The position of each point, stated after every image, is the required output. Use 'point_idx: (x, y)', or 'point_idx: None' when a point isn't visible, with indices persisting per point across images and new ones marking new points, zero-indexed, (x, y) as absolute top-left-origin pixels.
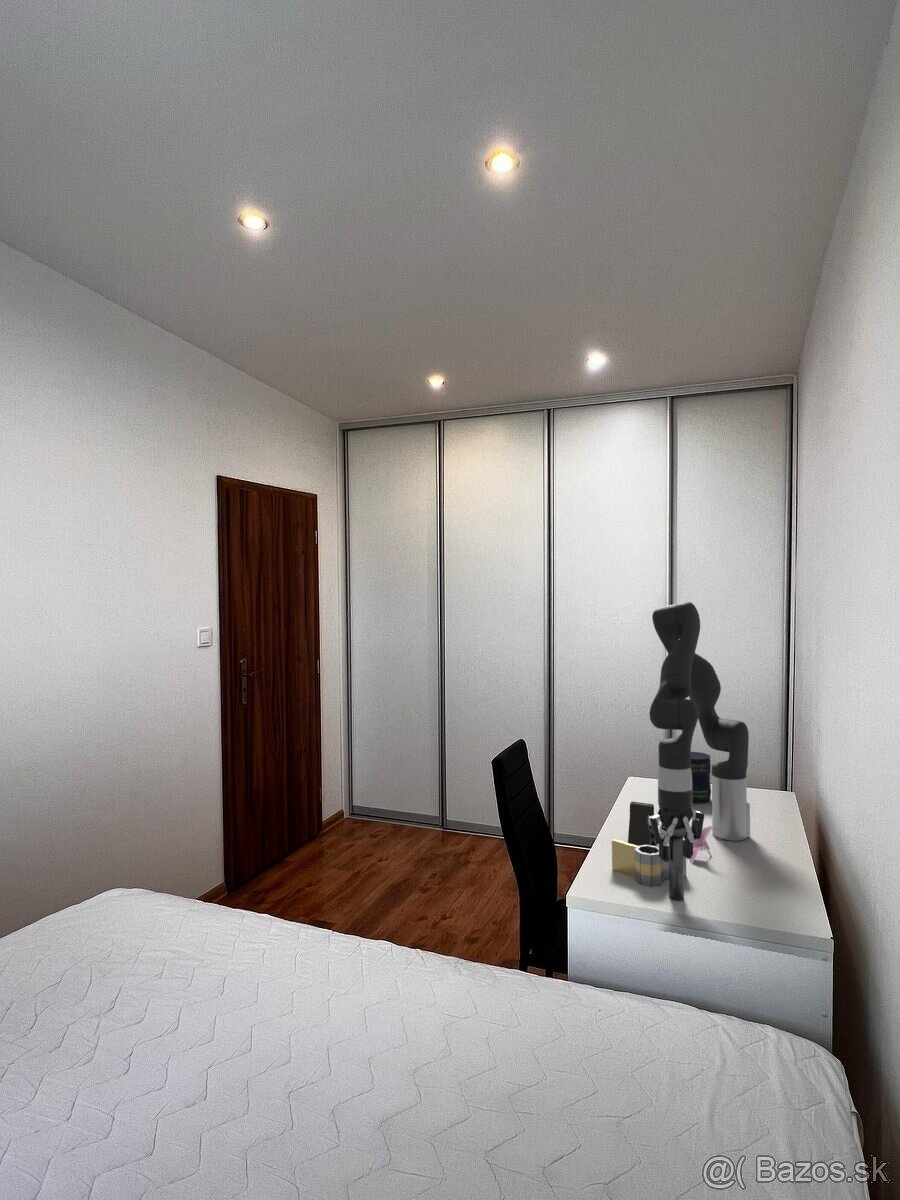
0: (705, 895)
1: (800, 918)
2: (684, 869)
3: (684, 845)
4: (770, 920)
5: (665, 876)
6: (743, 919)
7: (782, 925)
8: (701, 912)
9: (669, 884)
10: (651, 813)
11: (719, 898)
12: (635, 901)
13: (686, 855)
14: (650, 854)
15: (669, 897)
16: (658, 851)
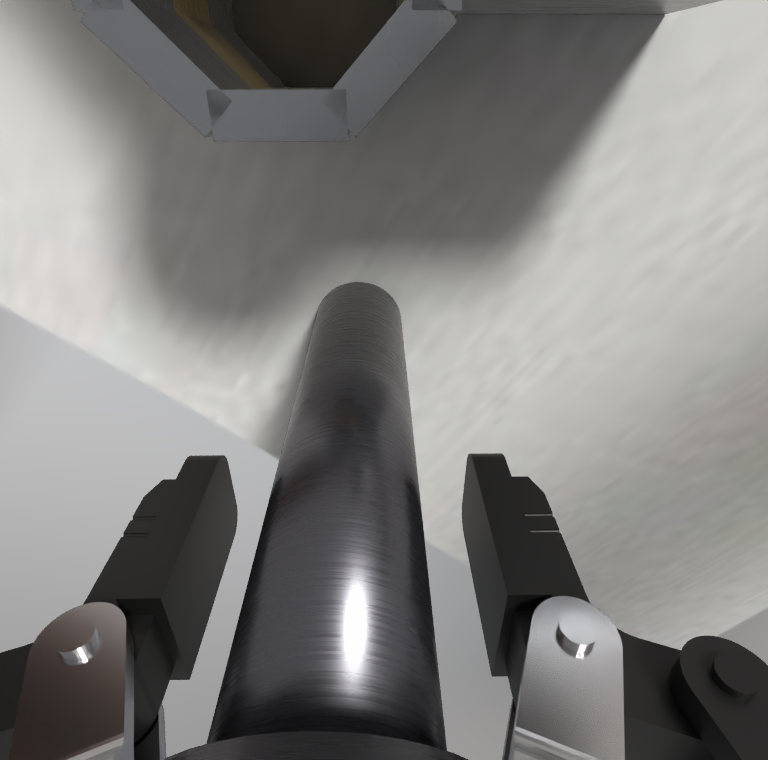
0: (539, 341)
1: (721, 591)
2: (681, 4)
3: (490, 559)
4: (605, 579)
5: (465, 12)
6: None
7: (610, 609)
8: None
9: (307, 351)
10: None
11: (580, 390)
12: (87, 296)
13: (468, 506)
14: (212, 115)
15: (318, 309)
16: (370, 45)
